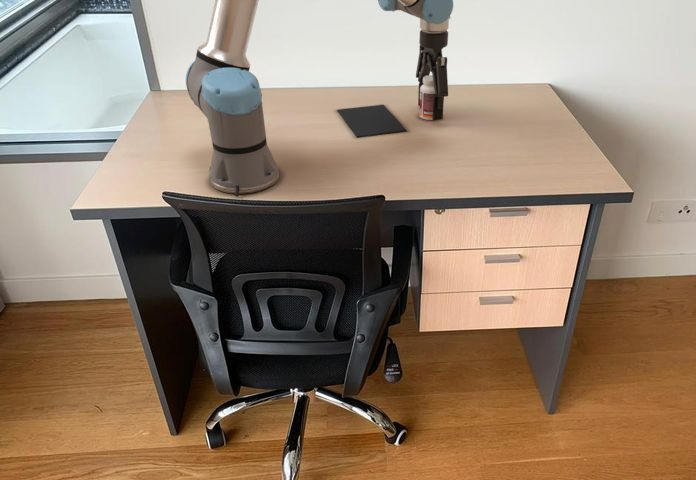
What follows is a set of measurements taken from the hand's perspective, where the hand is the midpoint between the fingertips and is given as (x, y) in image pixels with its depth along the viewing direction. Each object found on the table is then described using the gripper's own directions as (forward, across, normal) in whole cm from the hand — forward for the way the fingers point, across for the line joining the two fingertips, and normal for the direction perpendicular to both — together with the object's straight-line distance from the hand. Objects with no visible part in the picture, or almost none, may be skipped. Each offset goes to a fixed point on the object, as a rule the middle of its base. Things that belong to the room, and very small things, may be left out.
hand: (430, 112), depth 166 cm
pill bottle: (+2, 0, 0) cm, 2 cm away
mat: (+1, +2, +17) cm, 17 cm away
